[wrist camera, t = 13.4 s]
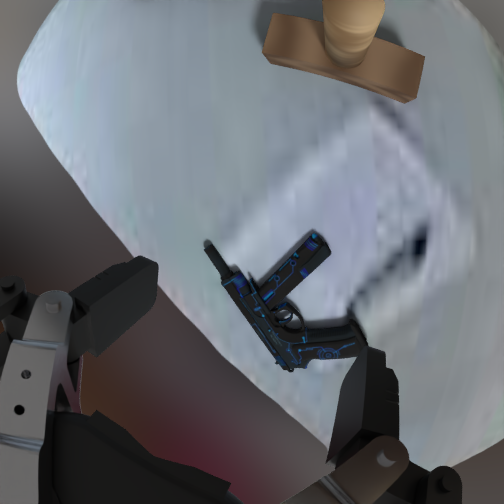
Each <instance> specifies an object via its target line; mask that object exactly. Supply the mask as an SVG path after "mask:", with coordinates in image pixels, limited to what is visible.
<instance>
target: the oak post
mask: <svg viewBox="0 0 504 504" xmlns="http://www.w3.org/2000/svg"><path fill="white" fill-rule="evenodd" d="M322 5H323V19H324V34H325V51H326V55H327V57H328V59H329V60H330V61H331V62H332V63H333V64H335V65H336V66H338V67H341V68H354V67H357V66H359V65H360V64H361V63H362V62H363V60H364V58H365V56H366V54H367V51H368V49H369V47H370V44H371V42H372V40H373V37H374V35H375V33H376V30H377V28H378V26H379V23H380V21H381V19H382V16H383V14H384V11H385V2H384V0H322Z"/></svg>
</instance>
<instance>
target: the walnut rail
mask: <svg viewBox="0 0 504 504" xmlns="http://www.w3.org/2000/svg"><path fill="white" fill-rule="evenodd" d="M262 53H263V55H264V56H265V57H266V58H267V60H268V61H269V62H270V63H271V64H275V65H279V66H284V67H289V68H293V69H298V70H302V71H306V72H310V73H314V74H318V75H321V76H325V77H329V78H332V79H336V80H339V81H342V82H346V83H349V84H352V85H355V86H358V87H361V88H364V89H367V90H370V91H373V92H376V93H378V94H381V95H384V96H386V97H389V98H392V99H394V100H397V101H399V102H402V103H404V104H405V103H407V102H409V101H411V100H413V99H416V97H417V93H418V89H419V84H420V79H421V75H422V70H423V65H424V60H425V56H423V55H420V54H418V53H416V52H413V51H411V50H408V49H406V48H403V47H401V46H398V45H396V44H393V43H390V42H388V41H385V40H382V39H379V38H376V37H373V40H372V42H371V44H370V47H369V49H368V51H367V54H366V56H365V58H364V60H363V62H362V63H361V64H360V65H359V66H357V67H354V68H341V67H338V66H336V65H335V64H333V63H332V62H331V61H330V60H329V59H328V57H327V55H326V51H325V34H324V22H320V21H315V20H311V19H306V18H301V17H296V16H290V15H284V14H278V13H273V15H272V18H271V22H270V25H269V29H268V32H267V36H266V39H265V43H264V46H263V50H262Z"/></svg>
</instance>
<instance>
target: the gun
mask: <svg viewBox="0 0 504 504" xmlns="http://www.w3.org/2000/svg"><path fill="white" fill-rule="evenodd" d="M311 237H312V238H311ZM312 239H313V240H312ZM325 243H326V242H325ZM328 248H329V247H328V245H327V244H324V242H323V241H322V239H321V238H320V237H319V236H318V235H316V234H315V233H313V234H312V236H310V237H309V238H308V239H307V241H306V242H305V243H304V244H303V245H302V246H301V247H300V248H299V249H298V250H297V251H296V252H295V253H294V254H293V255H292V256H291V257H290V258H289V259H288V260H287V261H286V262H285V263H284V264H283V265H282V266H281V267H280V268H279V269H278V270H277V271H276V272H275V273H274V274H273V275H272V276H271V277H270V278H269V279H268V280H267V281H266V282H265V283H264V284H263V285H262V286H261V287H260V288H259V287H258V286H257V284H256V283H255V282H254V281H253V278H251V279H250V285H249V284H248V282H247V281H246V279H245V278H244V276H243V275H242V273H241V272H240V271H238V272H237V271H236V272H235V273H234V274H233V272H232V271H230V270H229V268H228V267H227V265H226V264H225V262H224V261H223V259H222V258H221V256H220V255H219V253H218V252H217V250H216V249H215V247H214V246H213V244H212V245H210V246H209V247H207V248H205V249H204V251H205V252H206V254H207V255H208V257H209V258H210V260H211V261H212V263H213V264H214V266H215V267H216V269H217V270H218V272H219V273H220V275H221V276H222V277H221V279H222V282H221V284H222V286H223V287H224V288H225V289H226V291H227V292H228V294H229V295H230V296H231V298H232V299H233V301H234V302H235V304H236V305H237V306H238V308H239V309H240V311H241V312H242V314H243V315H244V316H245V318H246V319H247V321H248V322H249V323H250V325H251V326H252V328H253V329H254V330H255V332H256V333H257V335H258V336H259V337H260V339H261V340H262V342H263V343H264V344H265V346H266V347H267V348H268V350H269V351H270V353H271V354H272V355H273V357H274V358H275V359H276V362H275V364H279V365H280V366H281V367H282V369H283V370H288V372H293V371H294V368H304V369H306V368H307V365H308V363H309V362H310V361H311V360H312V359H320V360H326V359H342V358H350V357H357V356H358V355H359V353H360V352H361V350H362V349H363V347H364V346H368V342H367V341H366V339H365V337H364V335H363V333H362V331H361V330H360V328H359V326H358V325H357V323H356V322H355V321H353V320H352V319H349V323H350V324H348V325H347V326H344V327H336V328H326V329H308V328H307V327H305V325H304V321H303V318H302V316H301V315H300V313H299V312H298V311H297V310H296V309H295V308H294V307H293V306H291V305H290V304H289V303H288V302H286V303H284V304H282V305H280V306H279V307H278V308H273V307H274V306H275V305H277V304H278V303H279V302H280V301H281V300H282V299H283V298H284V297H285V296H286V295H288V294H289V293H290V292H291V291H292V290H293V289H294V288H295V287H296V286H297V285H298V284H299V283H300V282H302V281H303V280H304V279H305V278H306V277H307V276H308V275H309V274H310V273H312V272H313V271H314V270H315V269H316V268H317V267H318V266H319V265H320V264H321V263H322V262H323V261H324V260H325V259H326V258H328V257H329V256H330V255H331V251H330V249H328ZM282 310H288V311H290V312H291V315H290V317H289V318H287V319H284V320H279V319H277V318H276V316H275V314H276V313H277V312H279V311H282ZM293 314H295V315H296V316H297V317H298V318H299V319H300V321H301V323H302V327H301V328H300V329H290V328H288V327H286V326H285V324H287V323H288V322H290V321H291V320H292V318H293ZM290 369H292V370H290Z"/></svg>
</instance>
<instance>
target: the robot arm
mask: <svg viewBox="0 0 504 504" xmlns="http://www.w3.org/2000/svg"><path fill="white" fill-rule="evenodd" d="M158 269H159V267H158V264H157V262H154V261H152V260H150V259H148V258H145V257H143V256H137V257H135V258H134V259H132V260H131V261H129V262H127V263H125V262H124V263H120V264H116V265H112V266H111V267H109V268H108V269H106V270H104V271H103V273H100V274H98V275H96V277H95V278H94V277H93V278H91V279H90V280H89V281H87V282H85V283H83V284H82V285H80V286H79V287H77V288H76V289H74V290H73V291H71V292H70V293H68V294H67V293H65V292H62V291H49V292H46V293H44V294H42V295H40V296H37V295H35V294H32V293H29V292H26V288H25V283H24V281H23V279H22V278H20V277H18V276H6V277H3V278H1V279H0V321H2V323H3V326H4V329H5V331H4V332H2V333H1V334H0V504H244V503H243V502H242V501H241V500H239V499H238V498H237V497H236V496H235V495H233V494H232V493H231V492H229V491H228V489H229V487H230V485H231V483H230V482H227V481H225V480H222V479H220V478H218V477H215V476H213V475H211V474H208V473H206V472H204V471H202V470H200V469H197V468H195V467H192V466H187V465H183V464H179V463H176V462H172V461H168V460H165V459H161V458H158V457H155V456H153V455H152V454H150V453H149V452H148V451H147V450H146V449H145V448H144V447H143V446H142V445H141V444H140V443H139V442H138V441H137V440H135V438H133V437H132V435H131V434H130V433H129V432H128V431H126V429H124V428H123V427H121V426H120V425H118V424H117V423H115V422H113V421H112V420H110V419H109V418H108V417H106V416H105V415H103V414H102V413H100V412H99V411H97V410H96V411H95V412H94V413H93V414H92V416H88V415H84V414H82V413H81V407H80V386H81V374H82V373H81V372H82V363H83V357H82V355H83V354H84V353H85V352H86V351H88V352H90V353H91V354H92V355H94V356H95V357H98V356H99V355H100V354H101V353H102V352H103V351H105V350H106V349H107V347H109V346H110V345H111V344H112V343H113V342H115V341H116V340H117V339H118V338H119V337H120V336H121V335H122V334H123V333H125V332H126V330H128V329H129V328H130V327H131V326H132V325H133V324H135V323H136V322H137V321H138V320H139V319H140V318H141V317H142V316H144V315H145V314H146V313H147V312H148V311H149V310H150V309H151V308H152V307H153V305H154V303H155V300H156V296H157V282H158ZM398 393H399V386H398V380H397V377H396V375H395V373H394V371H393V369H390V368H386V354H385V352H384V351H381V350H378V349H375V348H372V347H369V346H364V347H363V349H362V350H361V352H360V353H359V355H358V357H357V358H356V360H355V362H354V363H353V365H352V366H351V368H350V370H349V371H348V373H347V374H346V376H345V378H344V380H343V383H342V386H341V389H340V395H339V401H338V406H337V412H336V417H335V422H334V427H333V432H332V437H331V442H330V446H329V451H328V455H327V460H326V464H327V465H330V466H334V467H335V470H334V471H332V472H331V473H330V474H328V475H327V476H324V477H322V478H321V479H319V480H318V481H316V482H314V483H313V484H311V485H310V486H308V487H307V488H305V489H304V490H302V491H300V492H299V493H297V494H296V495H294V496H292V497H291V498H289V499H287V500H286V501H284V502H282V503H280V504H462V482H461V478H460V476H459V475H458V473H457V472H456V471H455V470H454V469H452V468H450V467H448V466H439V467H437V468H435V469H434V470H432V471H431V472H429V471H427V470H426V469H424V468H422V467H420V466H418V465H416V464H414V463H412V462H411V461H410V460H409V453H408V451H407V448H406V447H405V445H404V444H403V443H402V442H401V441H400V440H399V405H398V404H399V395H398Z"/></svg>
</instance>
